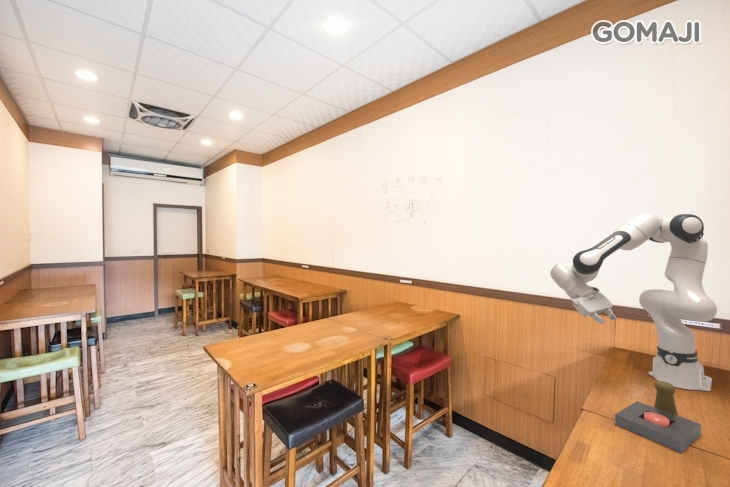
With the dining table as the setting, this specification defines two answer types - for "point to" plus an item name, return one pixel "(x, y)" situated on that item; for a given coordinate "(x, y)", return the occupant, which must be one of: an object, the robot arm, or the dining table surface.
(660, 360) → the robot arm
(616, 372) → the dining table surface
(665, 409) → the olive pepper mill
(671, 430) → the switch box
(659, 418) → the button
